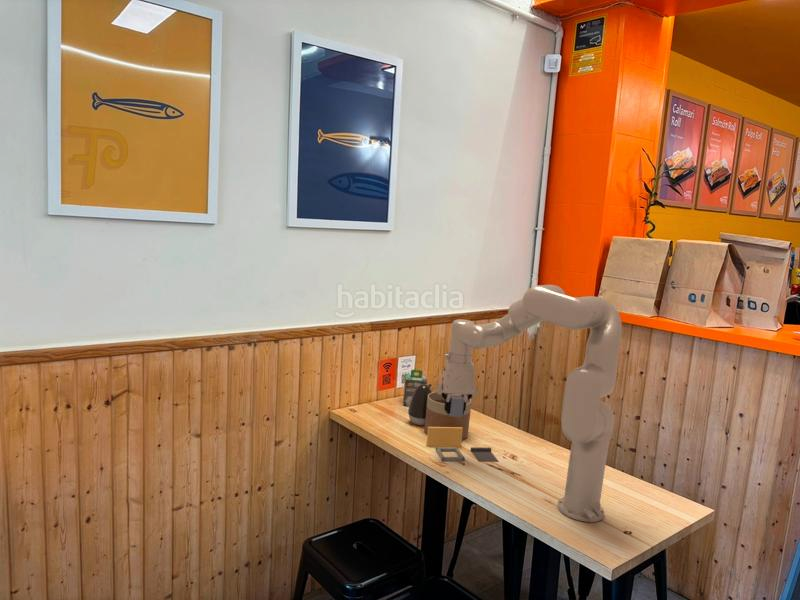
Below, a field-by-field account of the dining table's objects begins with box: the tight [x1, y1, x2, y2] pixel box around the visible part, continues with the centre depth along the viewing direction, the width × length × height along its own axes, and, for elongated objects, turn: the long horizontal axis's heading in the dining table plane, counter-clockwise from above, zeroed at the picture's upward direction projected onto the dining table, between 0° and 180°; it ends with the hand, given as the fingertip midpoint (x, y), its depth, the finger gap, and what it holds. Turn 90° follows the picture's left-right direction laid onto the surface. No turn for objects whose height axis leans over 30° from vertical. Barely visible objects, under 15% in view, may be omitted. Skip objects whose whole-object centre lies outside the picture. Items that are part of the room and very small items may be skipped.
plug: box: [449, 394, 464, 417], centre depth 190 cm, size 5×4×6 cm
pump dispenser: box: [407, 383, 433, 426], centre depth 221 cm, size 10×10×15 cm
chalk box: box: [402, 369, 428, 407], centre depth 244 cm, size 9×9×15 cm
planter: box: [424, 390, 472, 441], centre depth 211 cm, size 16×16×14 cm
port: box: [426, 427, 466, 462], centre depth 194 cm, size 13×12×7 cm
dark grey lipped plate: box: [470, 446, 499, 463], centre depth 194 cm, size 9×7×2 cm
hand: (454, 412), depth 190 cm, fingers closed on plug, 4 cm apart
